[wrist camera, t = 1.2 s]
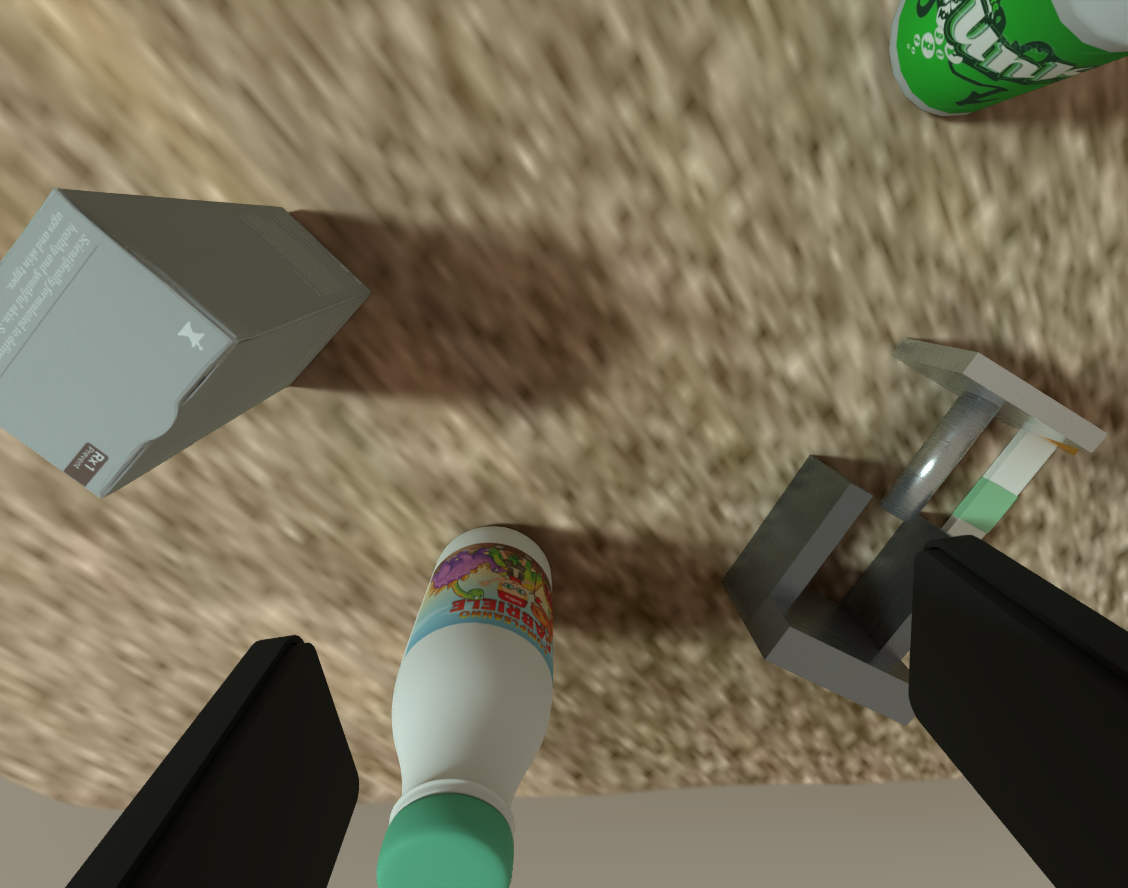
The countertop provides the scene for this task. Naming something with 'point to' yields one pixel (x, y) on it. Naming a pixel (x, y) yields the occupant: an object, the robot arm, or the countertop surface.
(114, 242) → the skincare box
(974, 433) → the plunger
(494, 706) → the milk bottle
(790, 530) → the bracket
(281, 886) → the robot arm
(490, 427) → the countertop surface
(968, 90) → the soda can
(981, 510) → the strip
